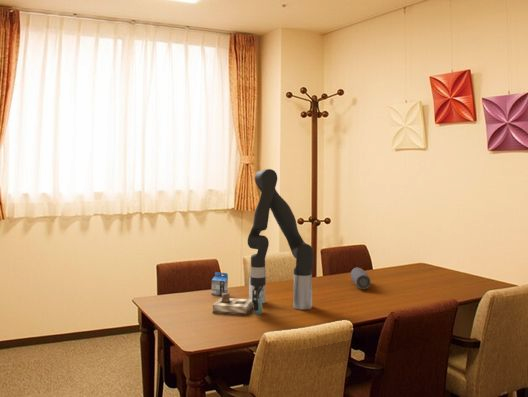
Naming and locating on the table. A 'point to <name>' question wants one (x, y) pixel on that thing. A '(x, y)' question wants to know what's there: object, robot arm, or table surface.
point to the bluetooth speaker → (360, 278)
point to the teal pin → (259, 306)
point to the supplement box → (252, 290)
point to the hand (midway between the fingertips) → (258, 308)
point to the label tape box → (220, 284)
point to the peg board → (232, 305)
